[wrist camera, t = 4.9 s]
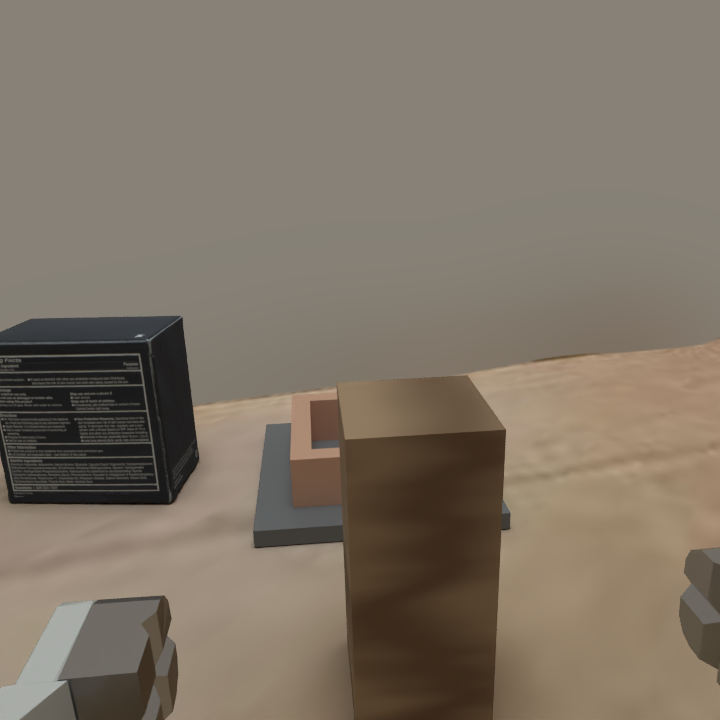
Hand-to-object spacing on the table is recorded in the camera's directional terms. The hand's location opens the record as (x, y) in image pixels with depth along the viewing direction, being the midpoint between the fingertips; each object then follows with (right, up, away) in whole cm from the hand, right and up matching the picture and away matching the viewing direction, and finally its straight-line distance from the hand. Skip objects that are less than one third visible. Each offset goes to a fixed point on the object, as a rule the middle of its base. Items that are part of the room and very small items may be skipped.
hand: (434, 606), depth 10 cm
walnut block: (+1, -9, +16) cm, 18 cm away
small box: (-18, -4, +33) cm, 38 cm away
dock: (0, -4, +32) cm, 32 cm away
